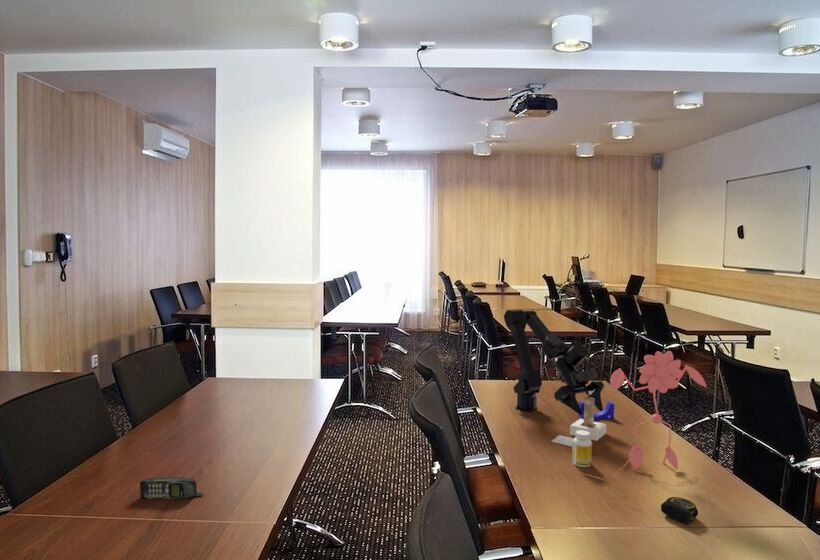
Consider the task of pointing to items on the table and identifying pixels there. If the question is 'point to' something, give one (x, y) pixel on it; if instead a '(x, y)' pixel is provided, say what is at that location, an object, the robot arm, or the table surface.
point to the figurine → (658, 376)
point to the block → (589, 429)
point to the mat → (563, 440)
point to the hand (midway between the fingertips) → (592, 412)
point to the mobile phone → (168, 488)
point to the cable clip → (605, 414)
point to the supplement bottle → (582, 449)
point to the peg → (589, 412)
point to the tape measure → (680, 509)
